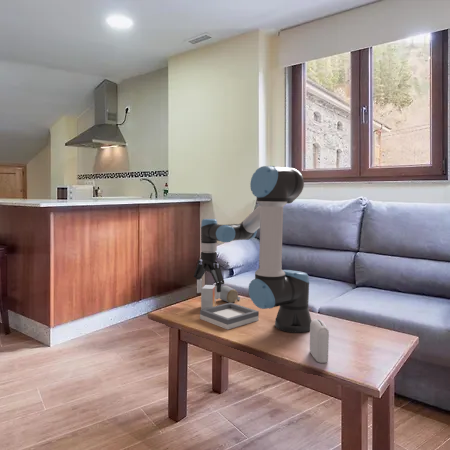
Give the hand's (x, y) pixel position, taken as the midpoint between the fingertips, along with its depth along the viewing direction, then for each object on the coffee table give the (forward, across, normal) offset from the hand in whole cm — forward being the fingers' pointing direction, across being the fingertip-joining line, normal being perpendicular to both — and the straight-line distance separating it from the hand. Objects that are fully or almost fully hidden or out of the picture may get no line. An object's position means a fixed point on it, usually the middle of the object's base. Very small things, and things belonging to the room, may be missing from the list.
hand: (208, 295), depth 183 cm
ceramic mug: (+6, +2, -17) cm, 18 cm away
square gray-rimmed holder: (+6, -20, +4) cm, 21 cm away
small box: (+6, 0, 0) cm, 6 cm away
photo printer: (+5, -68, +8) cm, 68 cm away
